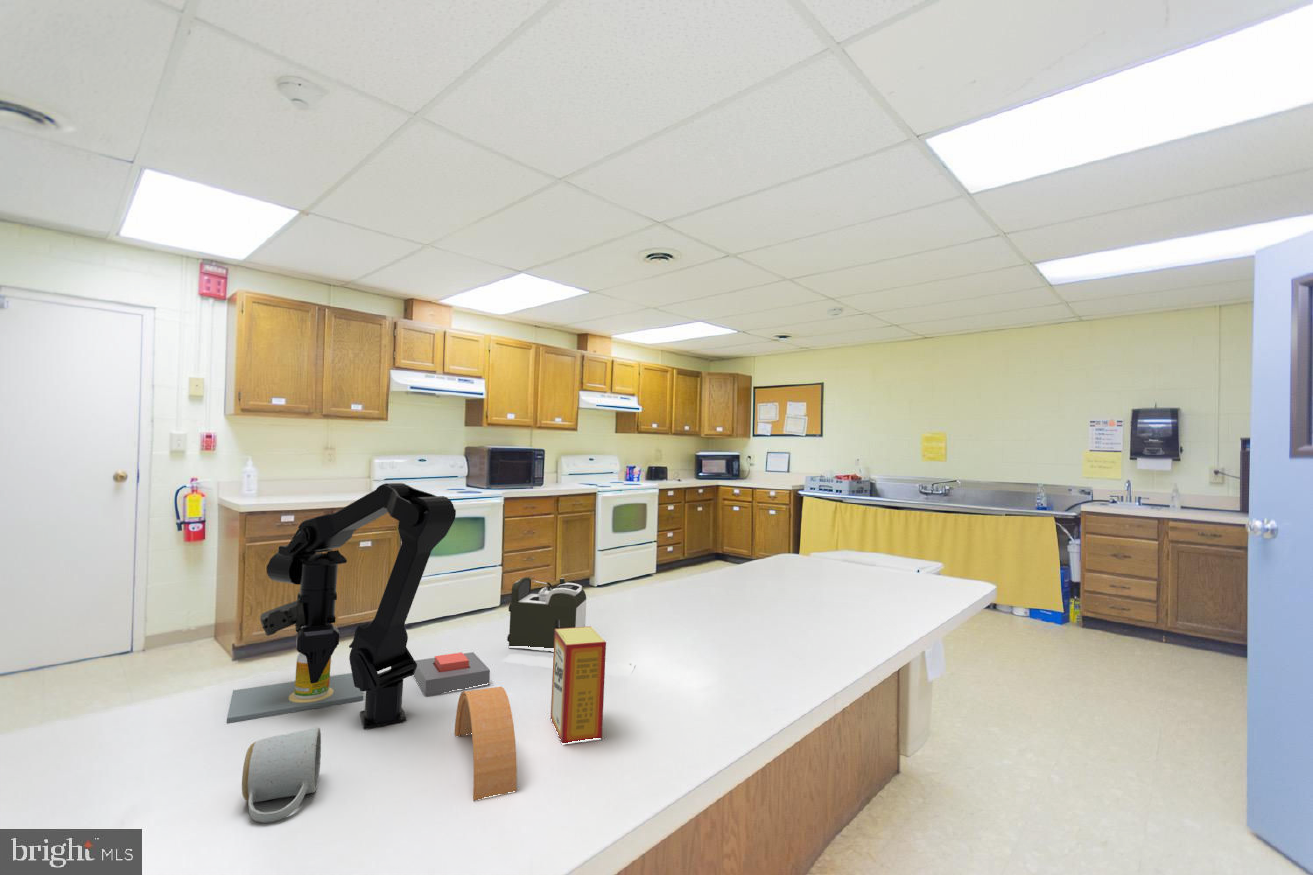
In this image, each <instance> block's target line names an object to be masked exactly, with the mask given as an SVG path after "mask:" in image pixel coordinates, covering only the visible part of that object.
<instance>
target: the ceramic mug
mask: <svg viewBox="0 0 1313 875" xmlns="http://www.w3.org/2000/svg"><path fill="white" fill-rule="evenodd" d="M321 752H322V733H321V728H320V727H318V726H317V727H311V728H307V729H303V730H302V729H301V730H299V731H294V732H290V733H286V734H280V735H274V736H269V737H266V738H262V739H260V740H257V741H254V742H253V743H251V744H250V745H249V747H248V749H247V750H246V754H245V756H244V761H243V768H242V776H241V794H242V797H243V799H244V800H245V802H247V803H248V813H249V815H250V817H251V818H252V820H254V821H256V822H259V823H262V824H263V823H264V824H265V823H274V822H278V821H281V820H283V819H285V818H287V817H288V816H290V815H291V814H292V813H294V812H295V811H296V809H298V808H299V806H300V805H301V803H302V801H303V800H304V797H305V795H308V794H312V793H315V792H316V791H317V788H318V786H319V779H320V772H321V771H320V770H321V760H322V754H321ZM289 797H295V798H294V799H293V800H292V801H291V802H289V803H288V804H287V805H286V806H284V807H282V808H281V809H279V810H276V811H271V812H265V811H263V812H262V811H260V810H258V809H256V808H255V806H254V802H256V803H257V802H259V803H260V802H265V801H271V800H275V799H283V798H289Z"/></svg>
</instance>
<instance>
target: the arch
mask: <svg viewBox="0 0 1313 875" xmlns="http://www.w3.org/2000/svg"><path fill="white" fill-rule="evenodd" d="M454 722H455V724H454V736H455V737H456V736H458V737H463V736H462V735H466V734H471V733H472V735H471V736H472V737H471V738H472V753H473V755H472V756H473V757H472V758H473V760H472V761H473V782H472V783H473V787H472V788H473V790H472V800H473V802H475V801H474V800H477V801H479V800H478V799H481V800H483V799H482V798H484V797H489V796H493V795H498V794H505V793H508V792H513V791H516V792H517V787H518V786H517V784H518V783H517V782H518V781H517V780H518V778H517V777H518V776H517V774H518V772H517V771H518V769H517V767H518V766H517V746H516V736H515V728H514V727H515V726H514V719H513V713H512V707H511V704H510V700H509V696H508V694H507V691H506V690H505V688H504V687H502V686H495V687H494V686H493V687H488V688H480V689H479V688H478V689H473V690H472V689H470V690H466V691H465V690H463V691H461V693H460V695H459V698H458V702H457V707H456V715H455V721H454ZM455 734H456V735H455ZM459 735H461V736H459ZM466 736H467V735H466ZM505 795H506V794H505Z"/></svg>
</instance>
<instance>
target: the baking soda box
mask: <svg viewBox="0 0 1313 875" xmlns="http://www.w3.org/2000/svg"><path fill="white" fill-rule="evenodd" d="M606 647H607V642H606V641H605V640H604V639H603V637H602V636H600V634H599V633H598V632H597V631H596V630H595V629H594V628H593V627H592V626H585V627H575V628H560V629H555V635H554V652H553V656H552V657H553V669H552V677H551V678H552V679H551V680H552V682H551V700H550V702H551V703H550V720H551V719H552V722H553V724H554V726H555V728H556V731H557V732H558V735H559V738H560V739H561V742H562V743H568V742H572V741H578V740H579V741H580V740H585V739H593V738H602V739H603V723H604V722H603V721H604V718H603V717H604V698H605V697H604V695H605V693H604V692H605V676H606V675H605V662H606V651H607V650H606V649H607V648H606ZM552 722H551V723H552ZM556 731H555V732H556ZM559 738H558V739H559ZM561 742H560V743H561Z"/></svg>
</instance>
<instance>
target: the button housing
mask: <svg viewBox="0 0 1313 875" xmlns="http://www.w3.org/2000/svg"><path fill="white" fill-rule="evenodd" d="M463 654H464V655H465V656H466V657H467V659H468V660H469V668H465V669H459V670H453V671H446V672H440V673H439V672H438V670H437V669H436V667H435V666H434V661H435V657H430V658H424V659H417V660H415V659H414V660H415V662H416V664H417V668H416V670H415V673H414V676H413V678H414V677H415V678H414V679H416V680H415V681H417V682H418V683H417V682H416V683H417V685H418V684H419V685H418V687H419V686H420V687H419V689H420V688H421V689H422V690H421V689H420V690H421V692H422V694H423V693H424V694H423V696H424V697H425V696H427V697H431V695H433V696H437V695H436V694H438V695H442V694H441V693H444V692H449V691H452V690H457V689H465V688H469V687H473V686H478V685H482V684H487V683H489V684H490V680H491V679H490V678H491V677H490V676H491V670H490V668H488V667H487V665H486V664H485V663H484V662H483V661H482V660H481V658H480V657H478V655H477V654H476V653H474V651H473V652H466V653H463ZM444 694H445V693H444Z"/></svg>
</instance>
